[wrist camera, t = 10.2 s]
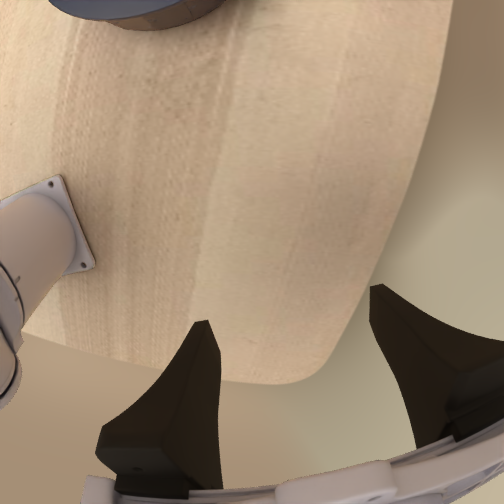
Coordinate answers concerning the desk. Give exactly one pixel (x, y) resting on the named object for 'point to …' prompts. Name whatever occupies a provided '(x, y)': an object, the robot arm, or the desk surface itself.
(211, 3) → the tin
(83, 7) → the tin lid
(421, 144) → the desk surface
